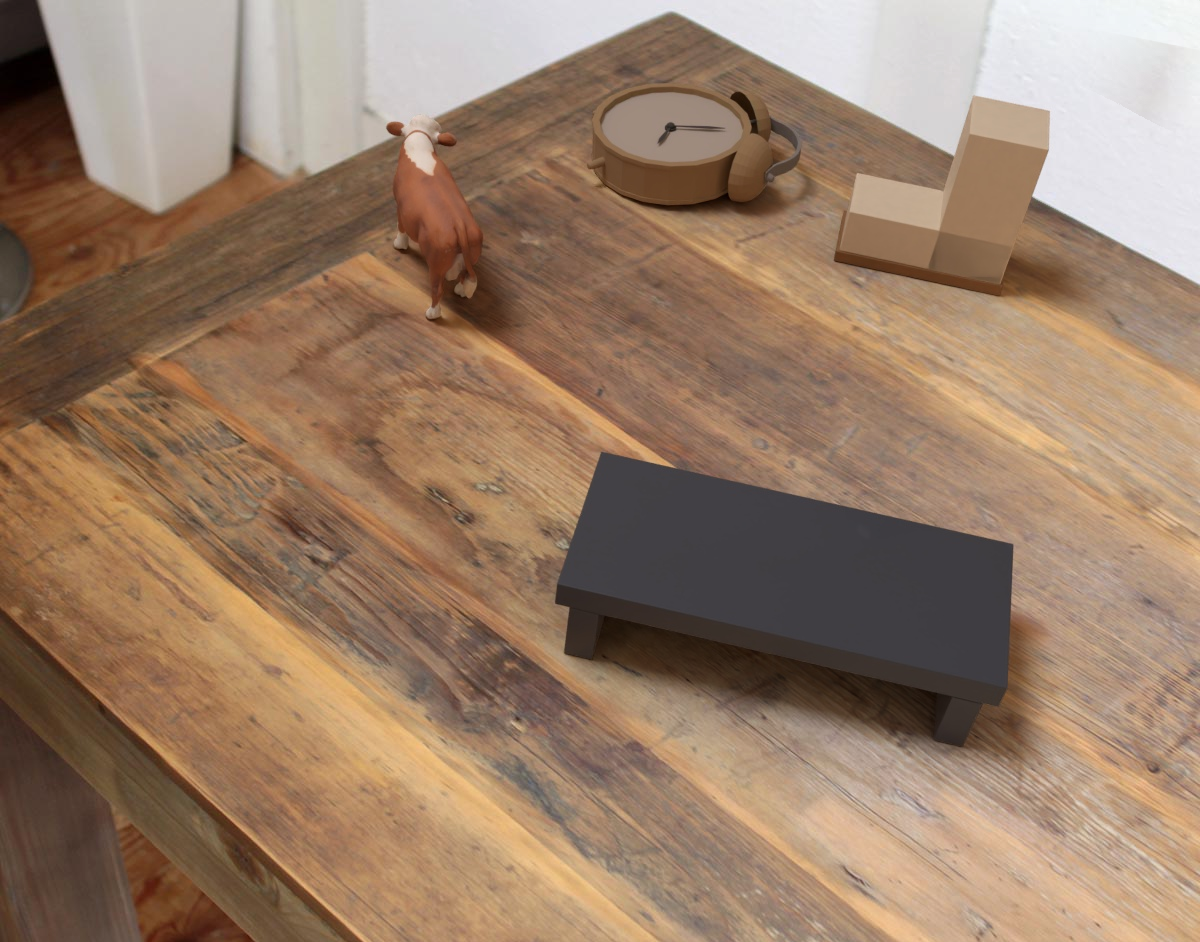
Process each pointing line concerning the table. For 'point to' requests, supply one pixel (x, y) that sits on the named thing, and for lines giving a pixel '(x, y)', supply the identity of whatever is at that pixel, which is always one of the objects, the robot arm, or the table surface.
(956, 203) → the boot
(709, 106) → the alarm clock
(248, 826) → the table surface
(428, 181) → the bull figurine
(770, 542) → the dark grey low platform
